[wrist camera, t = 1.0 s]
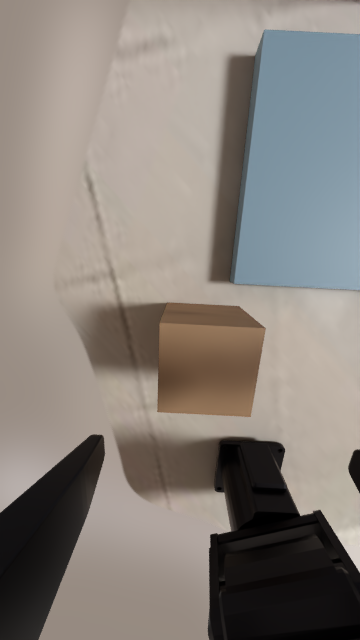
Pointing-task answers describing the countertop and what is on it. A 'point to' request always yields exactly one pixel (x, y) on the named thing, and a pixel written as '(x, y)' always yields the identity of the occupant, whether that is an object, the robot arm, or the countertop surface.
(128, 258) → the countertop surface
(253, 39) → the countertop surface
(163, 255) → the countertop surface
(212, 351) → the walnut cube
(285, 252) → the slate board
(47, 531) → the robot arm
